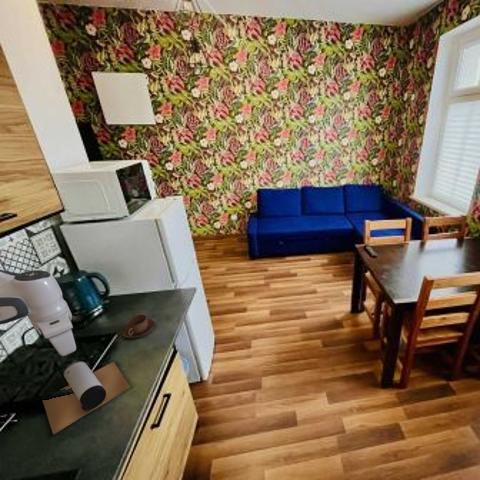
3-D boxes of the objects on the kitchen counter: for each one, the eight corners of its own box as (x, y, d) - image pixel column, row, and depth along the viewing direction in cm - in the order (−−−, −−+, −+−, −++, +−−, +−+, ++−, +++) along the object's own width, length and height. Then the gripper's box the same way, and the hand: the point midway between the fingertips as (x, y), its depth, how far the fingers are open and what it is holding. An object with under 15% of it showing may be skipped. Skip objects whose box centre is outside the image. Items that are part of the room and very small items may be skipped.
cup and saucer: (152, 337, 115) (149, 325, 113) (119, 343, 112) (115, 332, 109) (157, 319, 126) (154, 309, 123) (128, 325, 122) (124, 314, 120)
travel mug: (58, 371, 91) (78, 403, 81) (81, 357, 96) (103, 386, 85) (67, 382, 94) (87, 415, 84) (89, 368, 99) (111, 398, 88)
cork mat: (53, 434, 79) (52, 433, 78) (42, 400, 88) (42, 399, 88) (130, 387, 93) (130, 386, 93) (114, 362, 103) (113, 361, 102)
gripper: (32, 309, 88) (48, 341, 94) (44, 337, 77) (62, 372, 82) (58, 300, 93) (72, 331, 98) (72, 325, 81) (87, 359, 87)
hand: (67, 350), depth 90 cm, fingers closed
